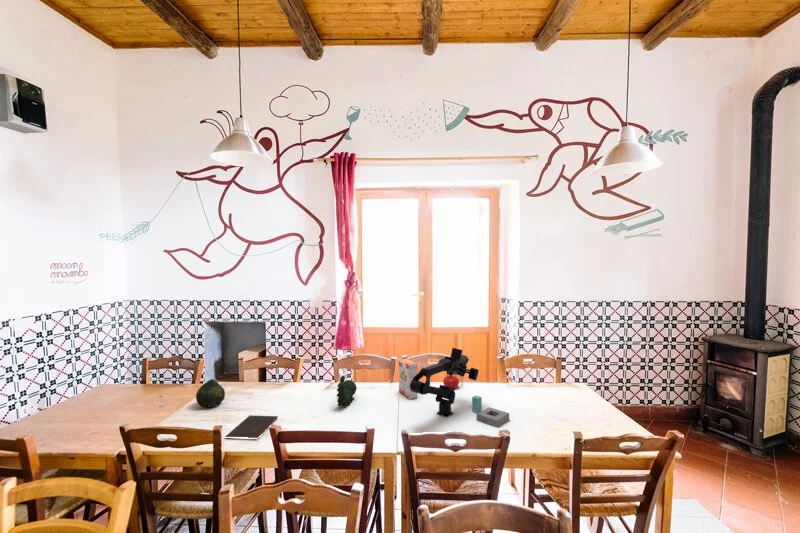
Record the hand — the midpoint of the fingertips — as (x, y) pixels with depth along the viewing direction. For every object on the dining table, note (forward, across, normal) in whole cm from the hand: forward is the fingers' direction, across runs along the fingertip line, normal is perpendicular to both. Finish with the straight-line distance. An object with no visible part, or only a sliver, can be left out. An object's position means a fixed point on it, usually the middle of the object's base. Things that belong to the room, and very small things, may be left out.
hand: (469, 373), depth 230 cm
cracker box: (-9, +32, +23) cm, 40 cm away
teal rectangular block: (-4, -12, +18) cm, 23 cm away
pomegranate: (+17, +20, +11) cm, 29 cm away
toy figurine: (-37, +52, +36) cm, 73 cm away
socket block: (-8, -24, +20) cm, 32 cm away
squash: (-86, +107, +60) cm, 149 cm away
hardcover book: (-85, +60, +59) cm, 119 cm away
